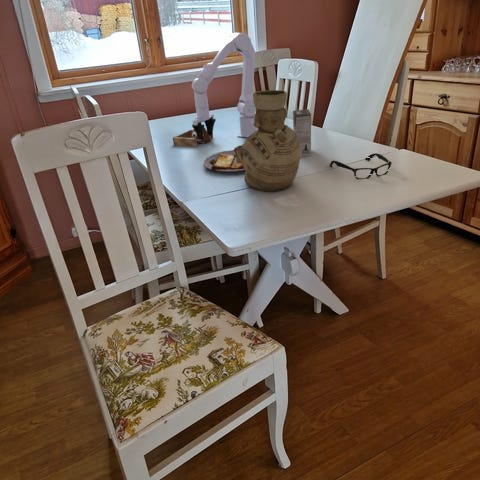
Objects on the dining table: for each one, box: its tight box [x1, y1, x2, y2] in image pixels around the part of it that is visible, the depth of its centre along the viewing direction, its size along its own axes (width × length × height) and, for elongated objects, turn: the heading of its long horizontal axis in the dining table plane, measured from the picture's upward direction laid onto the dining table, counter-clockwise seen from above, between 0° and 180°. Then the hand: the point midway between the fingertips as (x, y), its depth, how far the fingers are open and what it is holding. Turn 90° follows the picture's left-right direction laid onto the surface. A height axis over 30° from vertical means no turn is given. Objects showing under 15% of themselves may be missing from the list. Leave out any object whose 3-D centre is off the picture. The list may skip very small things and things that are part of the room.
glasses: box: [329, 152, 393, 180], centre depth 145 cm, size 17×18×5 cm
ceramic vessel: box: [233, 89, 301, 193], centre depth 133 cm, size 19×21×30 cm
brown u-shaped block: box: [172, 129, 214, 148], centre depth 197 cm, size 13×15×4 cm
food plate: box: [202, 149, 245, 173], centre depth 162 cm, size 25×23×4 cm
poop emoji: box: [191, 123, 212, 144], centre depth 194 cm, size 10×9×9 cm
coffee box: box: [292, 109, 312, 157], centre depth 164 cm, size 9×6×16 cm
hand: (205, 137), depth 193 cm, fingers open, 7 cm apart
